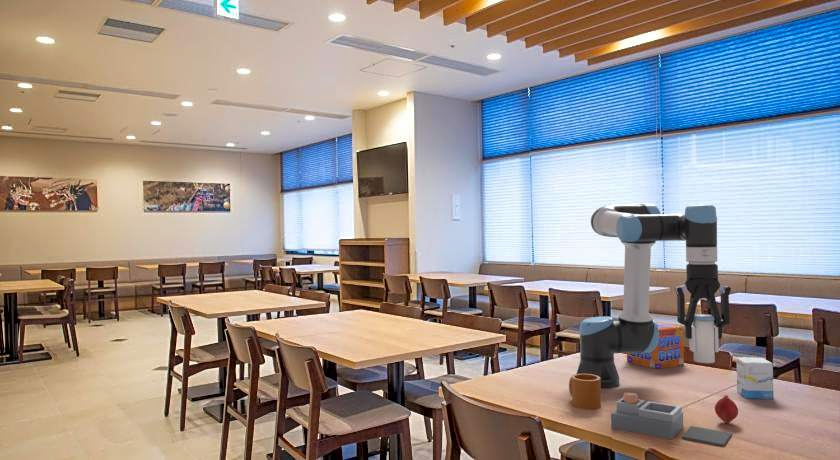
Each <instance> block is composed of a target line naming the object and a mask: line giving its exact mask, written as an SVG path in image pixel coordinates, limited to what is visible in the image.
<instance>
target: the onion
mask: <svg viewBox="0 0 840 460" xmlns="http://www.w3.org/2000/svg"><path fill="white" fill-rule="evenodd" d="M714 411H715V414H716V416H717V417H718V418H719V419H720V420H721V421H722V422H724V423H725V424H730V423H731V422H732V421H734V420H735V419H736V418H737V416H738V415H739V408H738V406H737V405H736V403H735V402H734V400H732V399H731V398H729V394H726V395H724V396H723V397H721V398H720V399H718V401H717V402H716V403H715V406H714Z"/></svg>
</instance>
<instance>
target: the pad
mask: <svg viewBox="0 0 840 460" xmlns="http://www.w3.org/2000/svg"><path fill="white" fill-rule="evenodd" d="M731 437H732V433H731V432H728V431H722V430H718V429H716V430H715V429H711V428H705V427H700V426H695V425H691V426H689V428H687V430H686V431H685V432H684V433H683V434H682V436H681V440H686V441H692V442H697V443H702V444H707V445H713V446H718V447H722V448H724V447H725V445H726V444H727V443H728V442H729V440H730V438H731Z"/></svg>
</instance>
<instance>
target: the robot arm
mask: <svg viewBox="0 0 840 460" xmlns="http://www.w3.org/2000/svg"><path fill="white" fill-rule="evenodd" d="M590 227H591V229H592V230H593V231H594V232H595V233H596V234H597V235H599V236H603V237H608V238H618V239H619V241H620V242H621V243H622V245H623V246H624V267H623V268H624V272H623V299H622V300H623V301H622V302H623V308H622V309H623V310H622V311H621V312H620V313H619V314H618V320H614V318H613V317H611V316H608V315H607V316H606V315H605V316H592V317H588V318H585V319H583V320H582V321H581V322H580V324H579V333H578V335H579V355H580V356H579V358H580V360H579V362H578V363H579V365H578V366H577V370H576V373H575V374H592V375H597V376H599V377H600V378H601V389H602V388H613V387H617V386H619V385H620V375H619V373H618V369H617V367H616V364H615V359H614V358H615V356H614V354H627V353H640V354H641V353H649V352H652V351H653V350H654V349H655V348H656V346H657V343H658V339H659V331H658V325H657V323H656V322H657V321H656V320H654V317H653V316H652V314H650V312H649V309H650V307H649V306H650V285H651V284H650V282H651V281H650V280H651V257H652V256H651V255H652V254H651V253H652V251H651V250H652V246H654V245H655V244H656V242H659V241H660V242H661V241H662V242H667V241H670V242H671V241H673V242H675V241H677V242H680V241H685V261H686V262H688V263H687V264H686V265H685V267H686V268H685V269H686V271H685V272H686V281H685V282H684V284H682V285H679V286H675V287H674V290H675V293H676V296H677V298H676V304H677V305H676V306H677V307H676V311H677V316H676V317H677V319H676V320H677V322H678V323H679V324H681V325H683V326H684V327H685V328H684V329H685V330H684V331H685V332H684V333H685V334H684V335H685V338H686V339H688V342H689V344H688V345H689V351H691V352H692V353H694V352H696V340H695V327H694V326H693V319H694V315H696V311H697V306H698V303H699V302H700V299H706V301H707V304H708V308H709V311H710V313H711V314H710V315H713V316H715V320H714V351H715V353H719V347H720V346H719V340H721V339H722V338H723V327H724V326H725V325H729V324H731V323H730V321H731V320H730V294H731V291H732V288H731V287H730V286H727V285H722V284H721V283H720V281H719V270H718V269H719V268H718V267H719V265H717V262H718V216H717V207H715V206H714V205H713V204H697V205H696V204H694V205H687V206H685V209H684V213H670V214H669V213H666V214H662V213H661V211H660V209H659V208H658V206H657V205H656V204H653V203H643V202H640V203H639V202H638V203H618V204H617V203H614V204H607V205H602V206H601V207H599V208H597V209H596V210H595V211H594V212H593V213H592V215H591V217H590ZM686 290H687V291H688V292H689V294H690V296H689V302H688V303H689V304H688V307H687V312H686V308H685V307H686V304H685V302H686V300H685V299H686V298H685V294H686ZM718 290H719V293H720V312H719V308H718V305H717V300H716V296H715V294H716V293H717V291H718ZM685 312H686V313H685Z"/></svg>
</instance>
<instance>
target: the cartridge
mask: <svg viewBox="0 0 840 460" xmlns="http://www.w3.org/2000/svg"><path fill="white" fill-rule="evenodd" d="M714 320H715V316H713V315H712V314H704V313H702V314H701V313H698V314H697V313H695V315H694V319H693V323H692V326H694V327H695V340H696V352H693V362H695V363H701V364H714V363H715V362H716V358H715V353H716V352H715V351H714V326H715V324H714Z"/></svg>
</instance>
